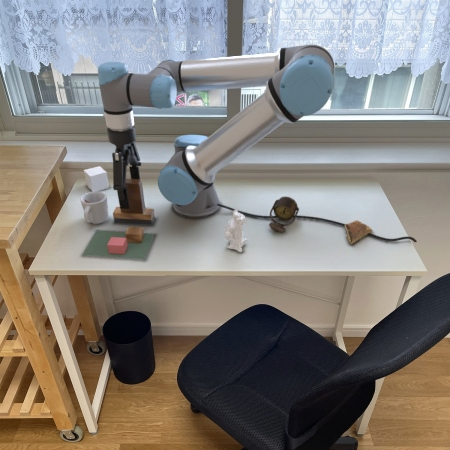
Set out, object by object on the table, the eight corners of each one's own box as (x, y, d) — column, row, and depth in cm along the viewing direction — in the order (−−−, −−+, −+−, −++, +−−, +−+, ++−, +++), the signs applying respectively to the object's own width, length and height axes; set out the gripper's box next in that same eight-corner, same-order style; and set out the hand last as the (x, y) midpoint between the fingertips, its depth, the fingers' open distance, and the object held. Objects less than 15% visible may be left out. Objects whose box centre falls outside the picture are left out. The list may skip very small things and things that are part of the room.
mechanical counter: (310, 205, 136) (286, 188, 140) (286, 217, 129) (261, 199, 132) (302, 224, 141) (279, 207, 145) (278, 236, 134) (254, 218, 137)
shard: (350, 246, 129) (351, 241, 128) (330, 235, 134) (331, 230, 133) (372, 233, 135) (374, 228, 133) (352, 223, 139) (354, 218, 138)
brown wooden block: (154, 219, 140) (150, 178, 131) (152, 225, 137) (147, 185, 128) (118, 217, 141) (111, 176, 132) (114, 223, 138) (107, 183, 129)
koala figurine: (248, 254, 126) (250, 217, 118) (225, 255, 126) (225, 218, 118) (245, 238, 132) (247, 202, 124) (223, 238, 132) (223, 203, 124)
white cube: (109, 188, 156) (106, 172, 152) (93, 192, 154) (90, 176, 150) (102, 181, 160) (99, 165, 156) (86, 185, 157) (83, 170, 153)
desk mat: (154, 234, 133) (154, 233, 133) (144, 260, 124) (144, 258, 123) (97, 231, 135) (97, 230, 134) (82, 256, 125) (82, 254, 125)
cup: (101, 232, 134) (96, 209, 129) (77, 229, 135) (71, 206, 130) (114, 214, 142) (110, 192, 137) (91, 212, 143) (86, 189, 138)
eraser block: (128, 246, 128) (126, 237, 126) (124, 254, 125) (122, 245, 123) (112, 245, 128) (111, 236, 126) (108, 253, 125) (107, 244, 123)
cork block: (144, 235, 132) (143, 227, 130) (141, 243, 129) (140, 234, 127) (130, 235, 133) (128, 226, 131) (126, 242, 130) (125, 233, 128)
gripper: (119, 110, 129) (129, 178, 143) (92, 143, 111) (106, 217, 125) (145, 111, 129) (152, 179, 143) (121, 145, 110) (132, 219, 124)
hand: (131, 197), depth 134 cm, fingers open, 13 cm apart
